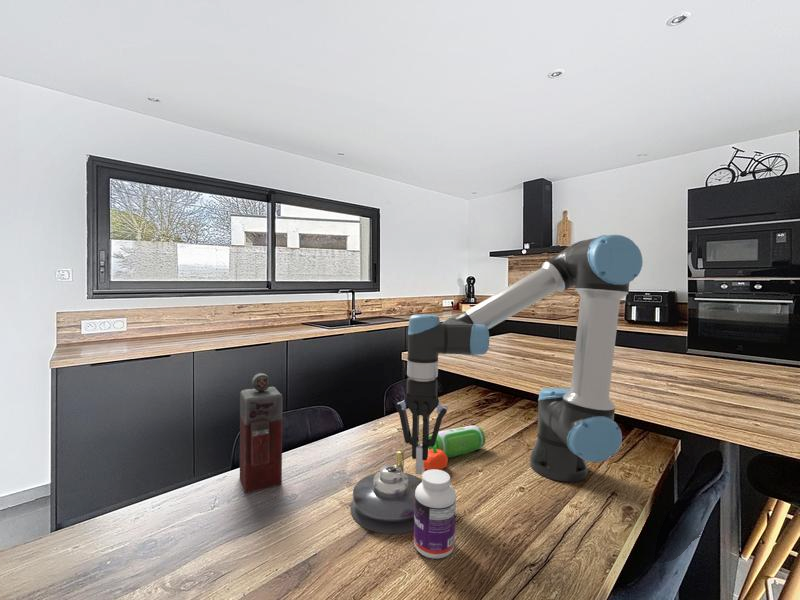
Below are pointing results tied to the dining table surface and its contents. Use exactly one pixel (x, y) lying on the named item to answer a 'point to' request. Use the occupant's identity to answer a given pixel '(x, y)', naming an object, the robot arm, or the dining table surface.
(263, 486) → the vintage gas pump
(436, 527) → the pill bottle
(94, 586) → the dining table surface
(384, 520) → the turntable
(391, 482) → the cover
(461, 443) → the speaker
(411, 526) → the turntable base
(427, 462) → the pumpkin
